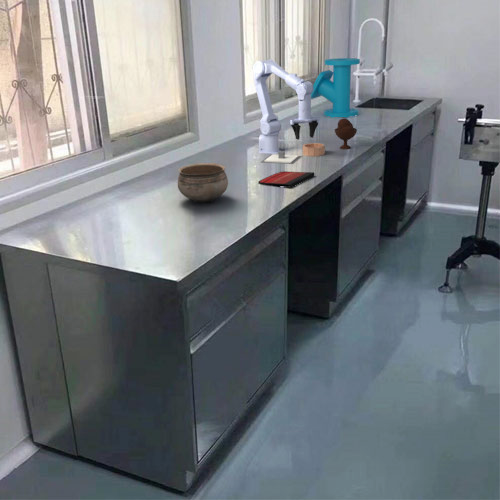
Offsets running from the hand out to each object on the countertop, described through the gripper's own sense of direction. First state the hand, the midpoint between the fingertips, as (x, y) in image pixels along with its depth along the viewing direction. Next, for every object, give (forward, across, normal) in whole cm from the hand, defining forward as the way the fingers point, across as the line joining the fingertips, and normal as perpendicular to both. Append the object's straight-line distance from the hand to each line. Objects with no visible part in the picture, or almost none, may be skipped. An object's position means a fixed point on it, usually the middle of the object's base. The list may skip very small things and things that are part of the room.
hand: (304, 138), depth 276 cm
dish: (+9, +6, +2) cm, 11 cm away
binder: (+10, -27, -31) cm, 42 cm away
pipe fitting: (+10, +79, +95) cm, 124 cm away
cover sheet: (+9, -12, +1) cm, 15 cm away
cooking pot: (+9, -67, -39) cm, 78 cm away
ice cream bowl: (+9, +27, +6) cm, 29 cm away
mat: (+9, -12, +1) cm, 15 cm away
